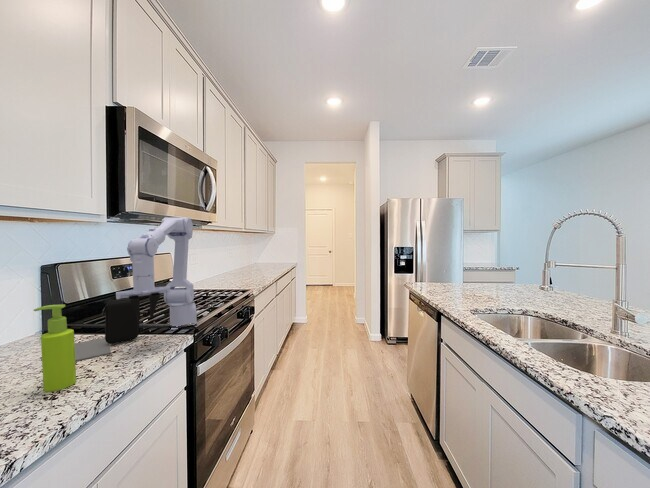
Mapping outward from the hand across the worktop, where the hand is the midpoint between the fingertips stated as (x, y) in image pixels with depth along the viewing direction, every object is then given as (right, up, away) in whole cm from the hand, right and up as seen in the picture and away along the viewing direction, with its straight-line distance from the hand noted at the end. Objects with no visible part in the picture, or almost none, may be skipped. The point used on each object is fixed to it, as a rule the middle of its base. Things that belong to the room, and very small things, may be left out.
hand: (145, 317), depth 90 cm
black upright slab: (-13, -10, +7) cm, 18 cm away
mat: (-20, -11, 0) cm, 23 cm away
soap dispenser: (-8, -12, -21) cm, 25 cm away
